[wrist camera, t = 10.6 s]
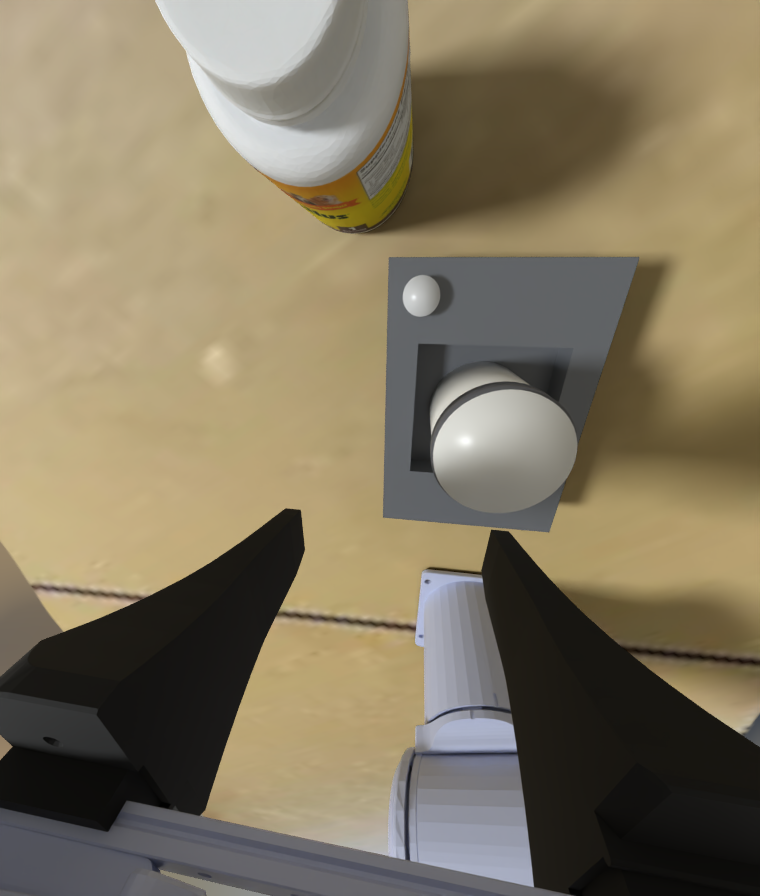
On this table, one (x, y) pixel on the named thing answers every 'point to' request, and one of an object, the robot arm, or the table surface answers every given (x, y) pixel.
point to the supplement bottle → (309, 96)
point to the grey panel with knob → (490, 356)
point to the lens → (498, 439)
